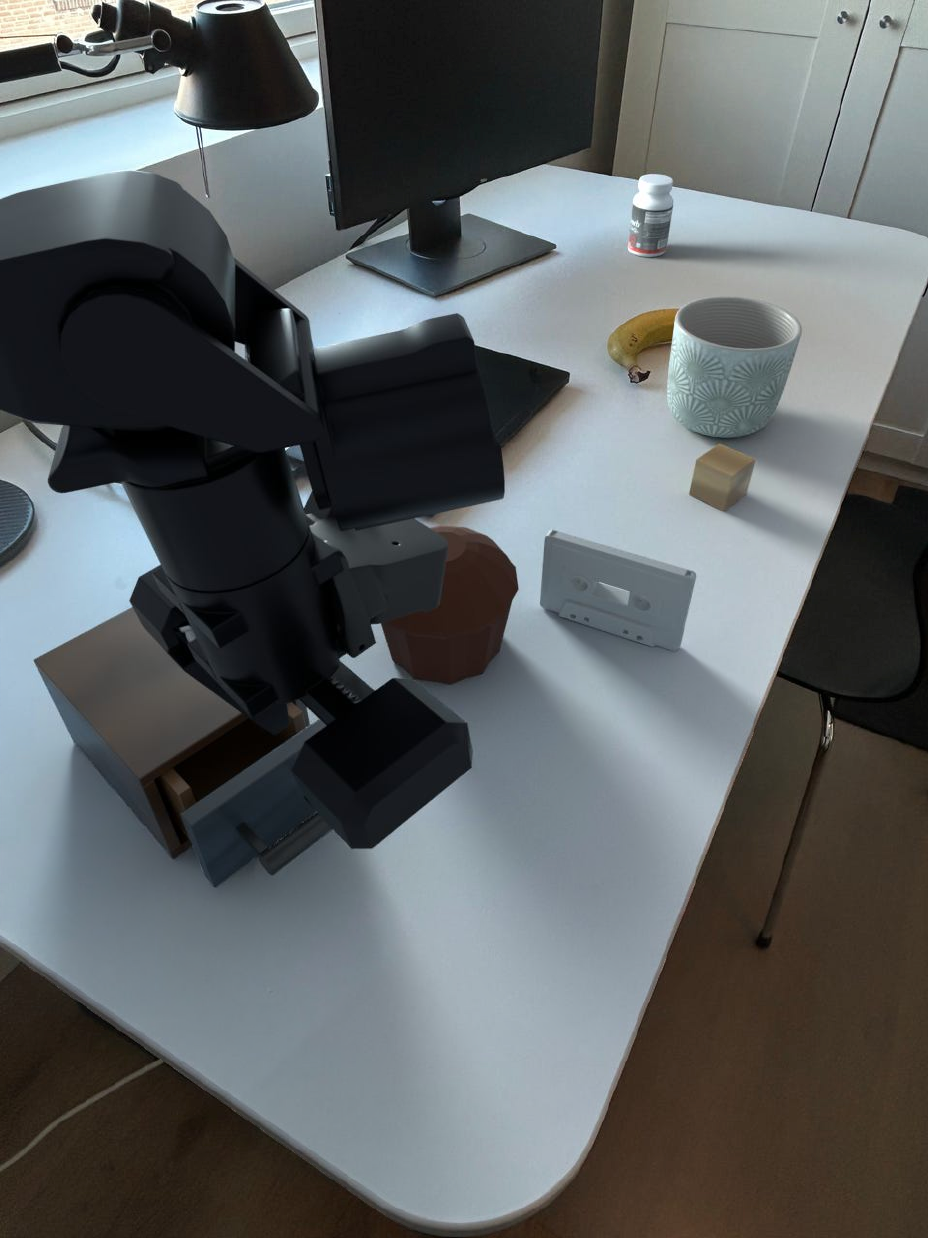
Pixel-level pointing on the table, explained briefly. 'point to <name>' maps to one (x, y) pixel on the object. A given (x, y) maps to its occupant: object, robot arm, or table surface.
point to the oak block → (721, 476)
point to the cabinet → (135, 713)
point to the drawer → (244, 799)
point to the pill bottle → (651, 216)
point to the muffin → (458, 613)
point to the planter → (729, 364)
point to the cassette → (616, 590)
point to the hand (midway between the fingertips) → (329, 778)
